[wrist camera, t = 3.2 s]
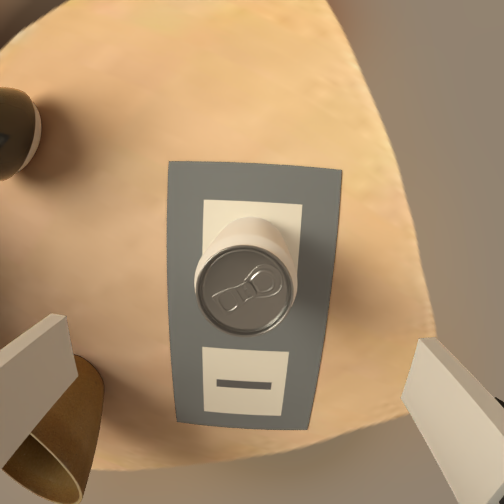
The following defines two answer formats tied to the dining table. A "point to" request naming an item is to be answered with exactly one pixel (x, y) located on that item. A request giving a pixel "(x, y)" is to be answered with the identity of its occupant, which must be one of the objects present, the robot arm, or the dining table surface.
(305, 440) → the dining table surface
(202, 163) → the label panel
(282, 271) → the can
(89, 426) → the plant pot
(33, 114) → the pump dispenser
